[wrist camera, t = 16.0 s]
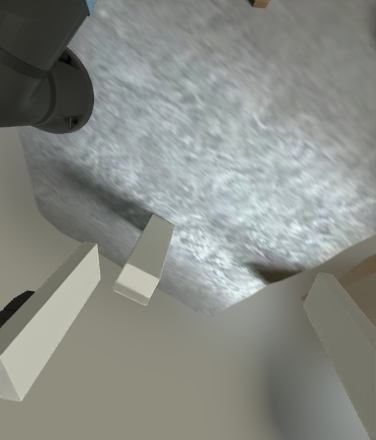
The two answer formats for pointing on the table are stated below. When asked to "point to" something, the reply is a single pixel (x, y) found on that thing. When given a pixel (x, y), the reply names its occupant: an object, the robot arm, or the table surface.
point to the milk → (145, 261)
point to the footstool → (260, 3)
